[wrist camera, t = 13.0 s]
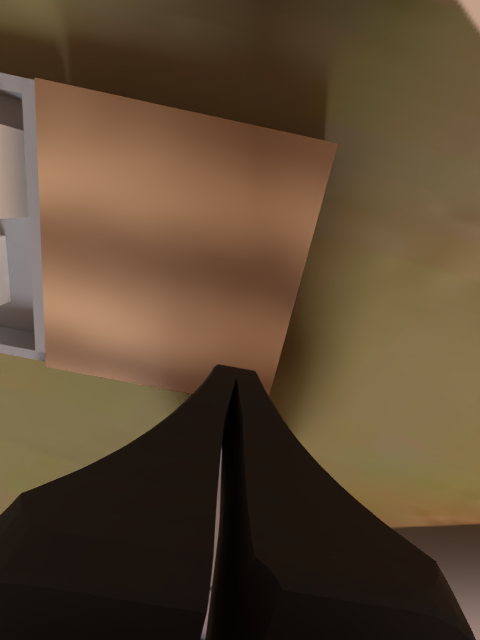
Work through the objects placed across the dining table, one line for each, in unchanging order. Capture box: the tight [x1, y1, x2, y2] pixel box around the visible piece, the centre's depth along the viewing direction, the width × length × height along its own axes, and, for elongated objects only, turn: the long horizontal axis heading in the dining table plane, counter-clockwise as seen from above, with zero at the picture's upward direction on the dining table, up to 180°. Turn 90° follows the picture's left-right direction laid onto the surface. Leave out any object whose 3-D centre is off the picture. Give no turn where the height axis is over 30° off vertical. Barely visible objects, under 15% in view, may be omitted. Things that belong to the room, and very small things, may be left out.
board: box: [34, 77, 338, 396], centre depth 17 cm, size 14×13×3 cm
